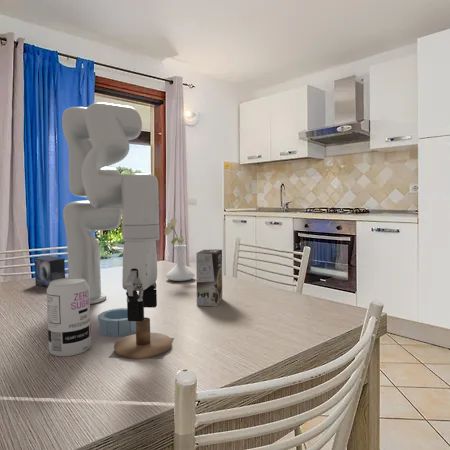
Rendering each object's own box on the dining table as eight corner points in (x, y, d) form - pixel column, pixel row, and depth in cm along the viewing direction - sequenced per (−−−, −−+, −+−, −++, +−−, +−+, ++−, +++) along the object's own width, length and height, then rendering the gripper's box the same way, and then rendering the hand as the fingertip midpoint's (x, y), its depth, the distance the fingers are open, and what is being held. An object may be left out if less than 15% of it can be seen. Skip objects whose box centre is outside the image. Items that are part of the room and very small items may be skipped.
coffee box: (216, 307, 111) (216, 253, 110) (196, 305, 112) (195, 252, 111) (223, 299, 120) (222, 249, 119) (203, 298, 121) (203, 248, 120)
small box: (34, 285, 141) (32, 257, 140) (50, 282, 146) (49, 255, 146) (50, 288, 135) (49, 260, 134) (66, 285, 140) (65, 257, 140)
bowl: (91, 337, 87) (91, 320, 87) (108, 322, 97) (108, 307, 97) (134, 338, 86) (133, 321, 86) (146, 323, 96) (146, 308, 96)
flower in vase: (179, 275, 157) (178, 216, 155) (200, 279, 150) (200, 217, 148) (156, 281, 146) (155, 217, 144) (178, 285, 139) (177, 218, 138)
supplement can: (57, 344, 83) (54, 277, 82) (95, 342, 83) (93, 276, 82) (42, 359, 75) (39, 285, 74) (84, 358, 75) (82, 284, 74)
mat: (108, 359, 75) (108, 357, 75) (127, 338, 86) (127, 337, 86) (162, 360, 74) (162, 358, 74) (174, 339, 85) (174, 338, 85)
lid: (105, 358, 74) (104, 328, 74) (125, 336, 86) (125, 310, 86) (164, 359, 73) (163, 329, 73) (176, 337, 85) (176, 311, 85)
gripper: (136, 230, 87) (138, 302, 88) (107, 237, 70) (110, 326, 71) (168, 230, 86) (169, 302, 87) (146, 236, 69) (149, 327, 70)
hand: (143, 313), depth 79 cm, fingers open, 9 cm apart
